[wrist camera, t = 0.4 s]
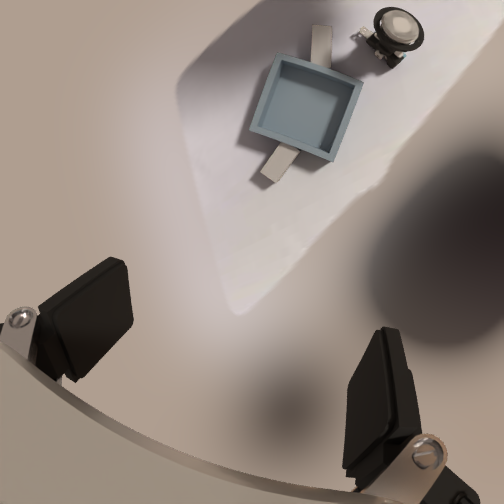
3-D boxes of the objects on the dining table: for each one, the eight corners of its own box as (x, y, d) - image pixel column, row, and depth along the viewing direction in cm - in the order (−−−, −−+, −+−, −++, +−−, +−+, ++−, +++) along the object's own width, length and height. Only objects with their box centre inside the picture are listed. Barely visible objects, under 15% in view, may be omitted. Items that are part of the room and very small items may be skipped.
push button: (348, 42, 26) (353, 11, 17) (372, 21, 24) (384, -13, 15) (387, 77, 27) (407, 57, 18) (411, 55, 24) (436, 31, 16)
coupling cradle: (295, 22, 27) (292, 13, 24) (374, 49, 26) (378, 41, 23) (242, 166, 36) (235, 169, 34) (317, 196, 35) (316, 201, 33)
